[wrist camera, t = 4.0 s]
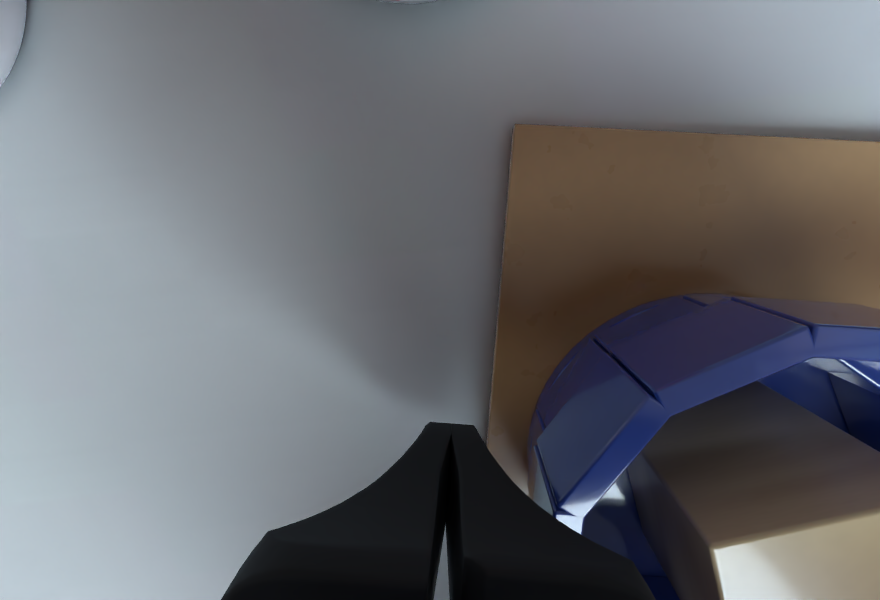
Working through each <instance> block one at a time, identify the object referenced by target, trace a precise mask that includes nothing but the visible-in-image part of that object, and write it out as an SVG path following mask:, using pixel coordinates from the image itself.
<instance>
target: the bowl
mask: <svg viewBox="0 0 880 600" xmlns="http://www.w3.org/2000/svg"><path fill="white" fill-rule="evenodd" d="M756 381H758V382H761V383H762V384H764V385H766V386H767V387H769V388H771V389H773V390H774V391H776V392H778V393H779V394H781V395H783V396H785V397H786V398H788V399H790V400H791V401H793V402H795V403H797V404H798V405H800V406H802V407H803V408H805V409H807V410H808V411H810V412H812V413H814V414H815V415H817V416H819V417H820V418H822V419H824V420H826V421H827V422H829V423H831V424H832V425H834V426H836V427H838V428H839V429H841V430H843V431H844V432H846V433H848V434H850V435H851V436H853V437H855V438H856V439H858V440H860V441H861V442H863V443H865V444H867V445H868V446H870V447H872V448H873V449H875V450H877V451H879V452H880V309H876V308H872V307H868V306H864V305H860V304H851V303H835V302H819V301H803V300H787V299H771V298H754V297H741V296H734V295H726V294H718V293H716V294H687V295H679V296H671V297H667V298H663V299H659V300H655V301H651V302H648V303H645V304H643V305H640V306H637V307H635V308H632V309H630V310H627V311H625V312H623V313H621V314H620V315H618V316H616V317H614V318H612V319H610V320H608V321H606V322H605V323H604V324H602V325H601V326H599V327H598V328H596V329H595V330H593V331H592V332H591V333H589V334H588V335H587V336H586V337H585V338H583V339H582V340H581V341H580V342H579V343H578V344H577V345H576V346H574V347H573V348H572V349H571V350H570V352H569V353H568V354H567V355H566V356H565V357H564V358H563V360H562V361H561V362H560V363H559V364H558V365H557V367H556V368H555V370H554V372H553V373H552V375H551V376H550V378H549V379H548V381H547V382H546V384H545V386H544V388H543V390H542V392H541V394H540V396H539V398H538V400H537V403H536V406H535V409H534V413H533V416H532V419H531V424H530V429H529V435H528V452H527V458H528V467H529V472H528V481H527V486H528V492H529V493H528V496H529V497H530V498H531V499H532V500H533V501H534V502H535V503H536V504H538V505H539V506H540V507H541V508H543V509H544V510H545V511H547V512H548V513H549V514H551V515H552V516H553V517H555V518H556V519H557V520H559V521H560V522H562V523H563V524H565V525H566V526H568V527H569V528H571V529H572V530H574V531H576V532H577V533H579V534H581V535H583V536H584V537H586V538H588V539H589V540H591V541H593V542H595V543H597V544H599V545H601V546H603V547H605V548H607V549H609V550H611V551H613V552H615V553H617V554H619V555H622V556H624V557H626V558H628V559H630V560H632V561H633V562H634V564H635V566H636V568H637V569H638V571H639V572H640V574H641V575H642V577H643V578H644V580H645V582H646V583H647V585H648V587H649V588H650V590H651V592H652V594H653V595H654V597H655V599H656V600H680V599H679V597H678V595H677V593H676V591H675V590H674V588H673V586H672V584H671V582H670V581H669V579H668V577H667V575H666V574H665V572H664V570H663V568H662V566H661V565H660V563H659V561H658V559H657V557H656V556H655V554H654V552H653V550H652V548H651V547H650V545H649V543H648V541H647V539H646V538H645V536H644V534H643V531H642V527H641V523H640V519H639V515H638V511H637V507H636V503H635V499H634V495H633V490H632V486H631V482H630V478H629V474H628V470H627V468H628V466H629V465H630V464H631V463H632V462H633V461H634V459H635V458H636V457H637V456H638V455H639V454H640V452H641V451H642V450H643V449H644V448H645V447H646V445H647V444H648V443H649V442H650V441H651V439H652V438H653V437H654V436H655V435H656V434H657V432H658V431H659V430H660V429H661V428H662V427H663V425H664V424H665V423H666V422H667V421H668V420H669V418H670V417H671V416H673V415H676V414H678V413H681V412H683V411H686V410H688V409H690V408H693V407H695V406H698V405H700V404H702V403H705V402H707V401H710V400H712V399H715V398H717V397H719V396H722V395H724V394H727V393H729V392H731V391H734V390H736V389H739V388H741V387H744V386H746V385H748V384H751V383H753V382H756Z"/></svg>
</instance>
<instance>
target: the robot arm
mask: <svg viewBox="0 0 880 600" xmlns="http://www.w3.org/2000/svg"><path fill="white" fill-rule="evenodd" d="M445 523H446V538H447V557H448V575H449V594H450V600H656V599H655V597H654V595H653V594H652V592H651V590H650V588H649V587H648V585H647V583H646V582H645V580H644V578H643V577H642V575H641V574H640V572H639V571H638V569H637V568H636V566H635V564H634V562H633V561H632V560H630V559H628V558H626V557H624V556H622V555H619V554H617V553H615V552H613V551H611V550H609V549H607V548H605V547H603V546H601V545H599V544H597V543H595V542H593V541H591V540H589V539H588V538H586V537H584V536H583V535H581V534H579V533H577V532H576V531H574V530H572V529H571V528H569V527H568V526H566V525H565V524H563V523H562V522H560V521H559V520H557V519H556V518H555V517H553V516H552V515H551V514H549V513H548V512H547V511H545V510H544V509H543V508H541V507H540V506H539V505H538V504H536V503H535V502H534V501H533V500H532V499H531V498H530V497H529V496H527V495H526V494H525V493H524V492H523V491H522V490H521V489H520V488H519V487H518V486H517V485H516V484H515V483H514V482H513V481H512V480H511V478H510V477H509V476H508V475H507V474H506V473H505V471H504V470H503V469H502V468H501V466H500V465H499V464H498V462H497V461H496V459H495V458H494V457H493V455H492V454H491V452H490V451H489V449H488V448H487V446H486V445H485V443H484V442H483V440H482V438H481V436H480V435H479V433H478V431H477V429H476V428H475V426H474V425H464V424H450V423H436V422H429V423H428V424H427V425H426V426H425V428H424V429H423V431H422V432H421V434H420V435H419V437H418V438H417V439H416V441H415V442H414V443H413V444H412V445H411V447H410V448H409V449H408V450H407V451H406V452H405V454H404V455H403V456H402V457H401V458H400V459H399V460H398V461H397V462H396V463H395V464H394V465H393V466H392V467H391V468H390V469H389V470H388V471H387V472H385V473H384V474H383V475H382V476H381V477H380V478H378V479H377V480H376V481H375V482H373V483H372V484H371V485H369V486H368V487H367V488H365V489H364V490H362V491H360V492H359V493H357V494H355V495H354V496H352V497H350V498H349V499H347V500H345V501H344V502H342V503H340V504H338V505H336V506H334V507H332V508H330V509H328V510H326V511H323V512H321V513H319V514H317V515H314V516H312V517H309V518H307V519H304V520H302V521H299V522H296V523H293V524H290V525H287V526H284V527H281V528H278V529H275V530H271V531H268V532H267V533H266V534H265V536H264V537H263V538H262V540H261V541H260V542H259V544H258V545H257V546H256V547H255V548H254V550H253V551H252V552H251V554H250V555H249V556H248V558H247V559H246V561H245V562H244V563H243V565H242V566H241V568H240V569H239V571H238V573H237V574H236V576H235V578H234V579H233V581H232V583H231V584H230V586H229V587H228V589H227V591H226V592H225V594H224V596H223V597H222V599H221V600H433V598H434V592H435V585H436V579H437V573H438V567H439V561H440V555H441V548H442V542H443V536H444V530H445Z"/></svg>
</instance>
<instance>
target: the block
mask: <svg viewBox="0 0 880 600" xmlns="http://www.w3.org/2000/svg"><path fill="white" fill-rule="evenodd" d="M627 470H628V474H629V478H630V482H631V486H632V490H633V495H634V499H635V503H636V507H637V511H638V515H639V519H640V523H641V527H642V531H643V534H644V536H645V538H646V539H647V541H648V543H649V545H650V547H651V548H652V550H653V552H654V554H655V556H656V557H657V559H658V561H659V563H660V565H661V566H662V568H663V570H664V572H665V574H666V575H667V577H668V579H669V581H670V582H671V584H672V586H673V588H674V590H675V591H676V593H677V595H678V597H679V599H680V600H880V452H879V451H877V450H875V449H873V448H872V447H870V446H868V445H867V444H865V443H863V442H861V441H860V440H858V439H856V438H855V437H853V436H851V435H850V434H848V433H846V432H844V431H843V430H841V429H839V428H838V427H836V426H834V425H832V424H831V423H829V422H827V421H826V420H824V419H822V418H820V417H819V416H817V415H815V414H814V413H812V412H810V411H808V410H807V409H805V408H803V407H802V406H800V405H798V404H797V403H795V402H793V401H791V400H790V399H788V398H786V397H785V396H783V395H781V394H779V393H778V392H776V391H774V390H773V389H771V388H769V387H767V386H766V385H764V384H762V383H761V382H758V381H756V382H753V383H751V384H748V385H746V386H744V387H741V388H739V389H736V390H734V391H731V392H729V393H727V394H724V395H722V396H719V397H717V398H715V399H712V400H710V401H707V402H705V403H702V404H700V405H698V406H695V407H693V408H690V409H688V410H686V411H683V412H681V413H678V414H676V415H673V416H671V417H670V418H669V420H668V421H667V422H666V423H665V424H664V425H663V427H662V428H661V429H660V430H659V431H658V432H657V434H656V435H655V436H654V437H653V438H652V439H651V441H650V442H649V443H648V444H647V445H646V447H645V448H644V449H643V450H642V451H641V452H640V454H639V455H638V456H637V457H636V458H635V459H634V461H633V462H632V463H631V464H630V465H629V466H628V468H627Z"/></svg>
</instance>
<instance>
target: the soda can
mask: <svg viewBox="0 0 880 600" xmlns="http://www.w3.org/2000/svg"><path fill="white" fill-rule="evenodd" d="M378 1H383V2H389V3H402V4H418V3H427V2H433V1H437V0H378Z"/></svg>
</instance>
